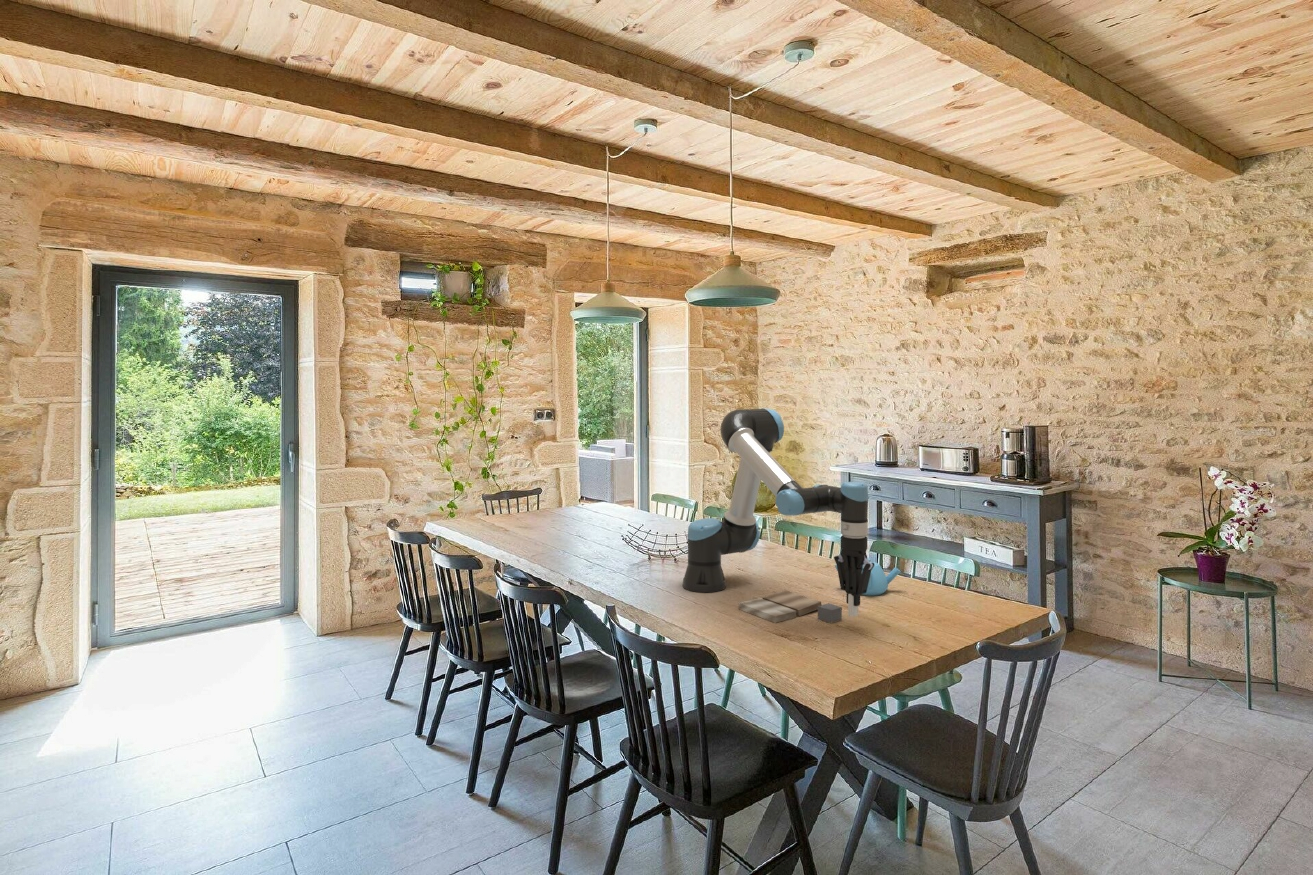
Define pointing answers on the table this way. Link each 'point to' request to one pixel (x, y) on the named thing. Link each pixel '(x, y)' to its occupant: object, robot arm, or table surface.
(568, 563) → the table surface
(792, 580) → the table surface
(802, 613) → the board
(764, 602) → the laid floor rows
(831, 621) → the block
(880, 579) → the teapot
